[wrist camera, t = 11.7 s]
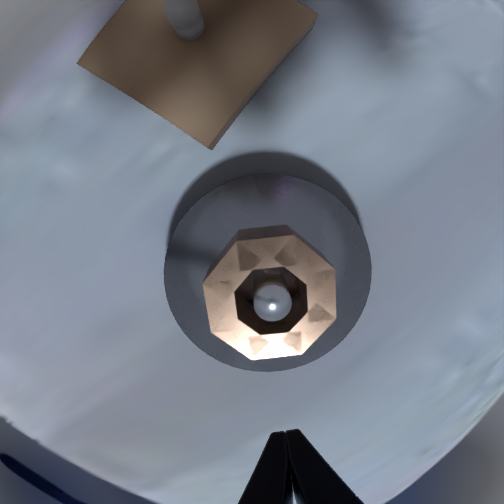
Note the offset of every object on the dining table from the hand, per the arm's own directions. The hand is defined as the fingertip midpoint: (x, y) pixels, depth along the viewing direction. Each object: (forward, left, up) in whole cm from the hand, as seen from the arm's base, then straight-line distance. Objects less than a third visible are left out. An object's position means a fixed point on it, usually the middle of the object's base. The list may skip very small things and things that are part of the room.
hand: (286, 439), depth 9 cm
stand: (-13, +10, -12) cm, 20 cm away
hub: (-1, +1, -12) cm, 12 cm away
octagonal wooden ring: (-1, +1, -10) cm, 10 cm away
